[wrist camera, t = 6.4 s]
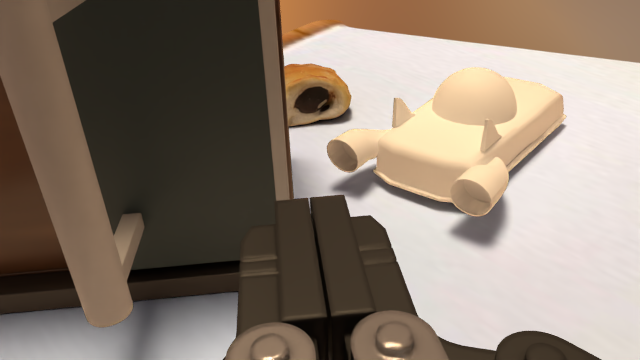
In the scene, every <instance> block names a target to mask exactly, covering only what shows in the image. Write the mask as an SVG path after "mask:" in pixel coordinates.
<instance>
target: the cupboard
mask: <svg viewBox="0 0 640 360" xmlns="http://www.w3.org/2000/svg"><path fill="white" fill-rule="evenodd" d="M275 13H276V26H277V39H278V52H279V66H280V79H281V92H282V105H283V118H284V132H285V145H286V158H287V171H288V184H289V198H290V199H294V197H293V183H292V169H291V155H290V141H289V127H288V113H287V99H286V85H285V70H284V56H283V42H282V29H281V15H280V1H279V0H275ZM239 269H240V260H235V261H225V262H214V263H203V264H192V265H181V266H171V267H160V268H149V269H138V270H130V273H129V276H128V279H127V284H128V288H129V291H130V295H131V298H132V301H138V300H149V299H159V298H169V297H180V296H190V295H200V294H211V293H221V292H231V291H239V277H240V276H239ZM76 306H82V305H81V302H80V299H79V296H78V293H77V291H76V288H75V285H74V282H73V279H72V277H71V274H70V271H69V268H68V265H67V262H66V260H65V257H64V254H63V251H62V248H61V245H60V243H59V240H58V237H57V234H56V231H55V229H54V226H53V223H52V220H51V217H50V214H49V212H48V209H47V206H46V203H45V200H44V198H43V195H42V192H41V189H40V186H39V183H38V181H37V178H36V175H35V172H34V169H33V166H32V164H31V161H30V158H29V155H28V152H27V150H26V147H25V144H24V141H23V138H22V135H21V133H20V130H19V127H18V124H17V121H16V119H15V116H14V113H13V110H12V107H11V104H10V102H9V99H8V96H7V93H6V90H5V87H4V85H3V82H2V79H1V76H0V314H4V313H14V312H25V311H35V310H45V309H56V308H66V307H76Z"/></svg>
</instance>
